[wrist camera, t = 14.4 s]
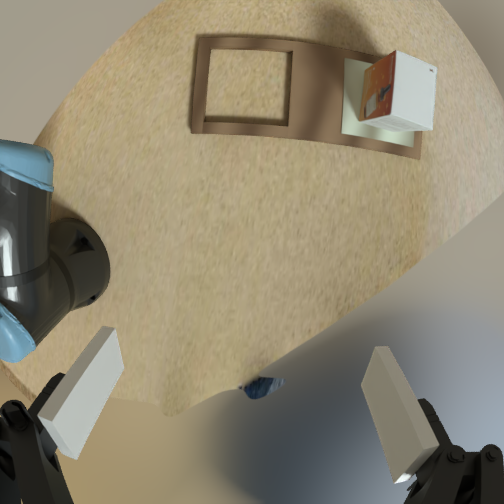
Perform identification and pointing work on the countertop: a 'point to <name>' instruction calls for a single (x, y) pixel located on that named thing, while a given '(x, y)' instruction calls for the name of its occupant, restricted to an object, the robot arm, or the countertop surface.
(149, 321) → the countertop surface
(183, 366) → the countertop surface
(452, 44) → the countertop surface
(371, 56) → the board
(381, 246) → the countertop surface
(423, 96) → the small box
